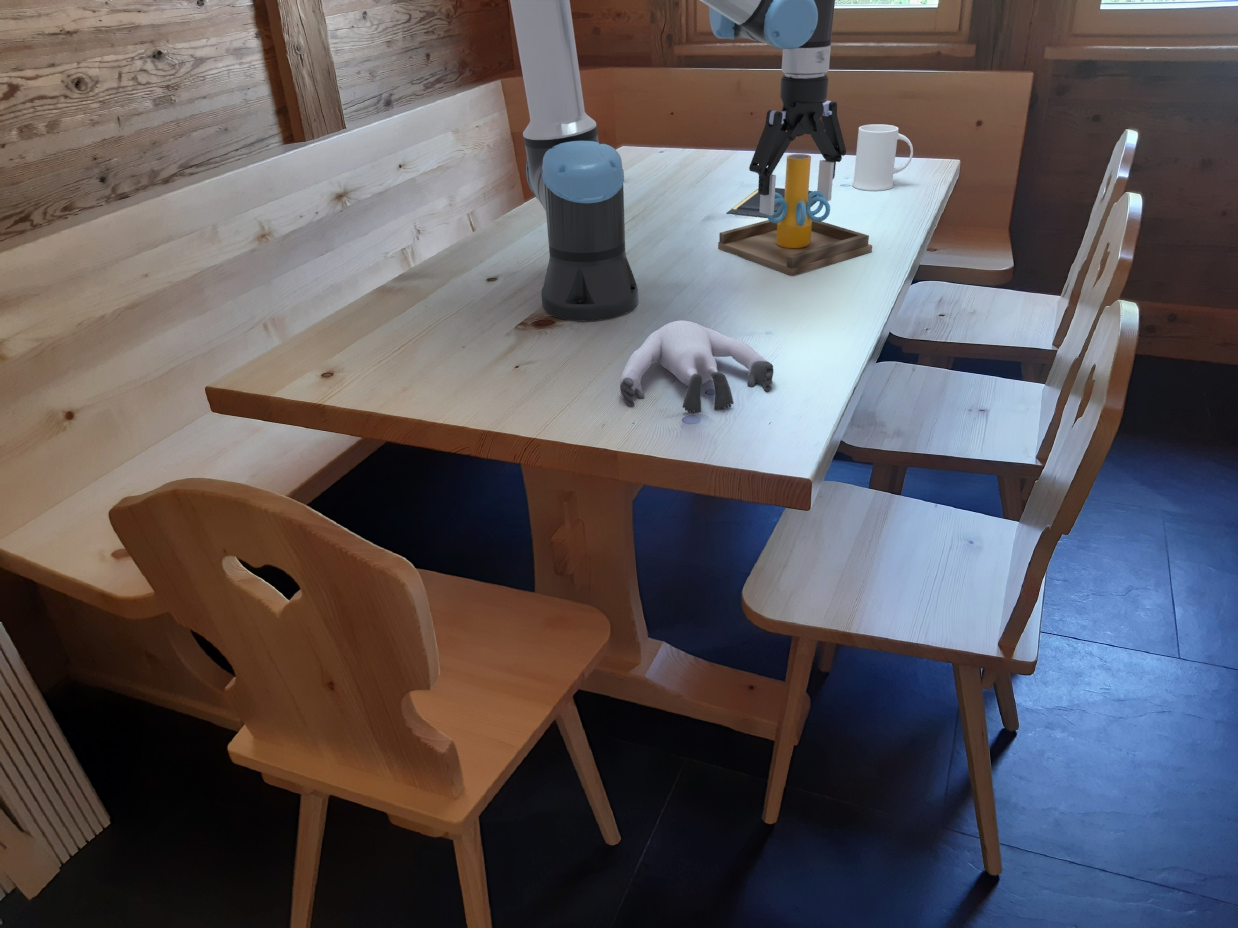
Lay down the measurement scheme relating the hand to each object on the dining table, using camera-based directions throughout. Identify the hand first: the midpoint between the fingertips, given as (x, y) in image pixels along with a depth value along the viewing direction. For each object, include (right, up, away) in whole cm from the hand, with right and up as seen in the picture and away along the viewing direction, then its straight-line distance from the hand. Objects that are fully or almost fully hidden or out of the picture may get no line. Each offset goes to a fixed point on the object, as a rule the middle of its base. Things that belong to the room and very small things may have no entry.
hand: (795, 206), depth 158 cm
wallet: (+2, +8, +30) cm, 31 cm away
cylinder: (0, -6, +3) cm, 7 cm away
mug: (+26, +15, +39) cm, 49 cm away
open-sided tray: (+1, -7, +4) cm, 8 cm away
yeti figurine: (-21, -34, -38) cm, 55 cm away
